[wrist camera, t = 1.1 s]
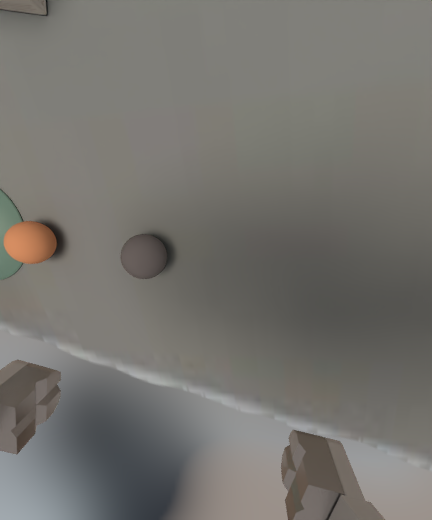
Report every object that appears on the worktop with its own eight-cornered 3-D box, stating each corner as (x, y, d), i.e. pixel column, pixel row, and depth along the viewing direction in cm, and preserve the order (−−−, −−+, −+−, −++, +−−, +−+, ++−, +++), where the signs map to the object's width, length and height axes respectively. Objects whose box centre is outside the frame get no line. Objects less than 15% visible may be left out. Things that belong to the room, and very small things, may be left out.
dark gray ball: (173, 233, 29) (158, 241, 24) (172, 273, 30) (157, 288, 26) (133, 228, 29) (110, 236, 25) (133, 268, 31) (112, 282, 26)
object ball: (64, 221, 30) (29, 226, 26) (67, 259, 32) (35, 271, 27) (27, 217, 31) (-13, 221, 26) (32, 255, 32) (-5, 266, 28)
